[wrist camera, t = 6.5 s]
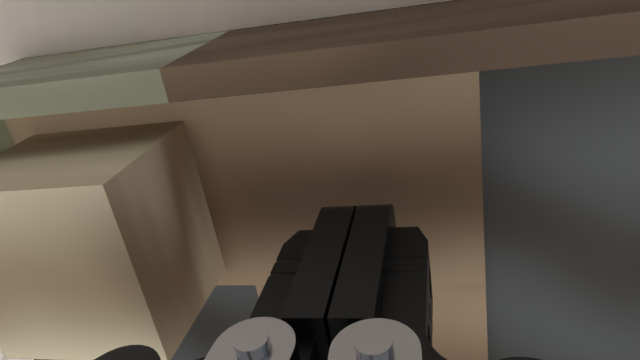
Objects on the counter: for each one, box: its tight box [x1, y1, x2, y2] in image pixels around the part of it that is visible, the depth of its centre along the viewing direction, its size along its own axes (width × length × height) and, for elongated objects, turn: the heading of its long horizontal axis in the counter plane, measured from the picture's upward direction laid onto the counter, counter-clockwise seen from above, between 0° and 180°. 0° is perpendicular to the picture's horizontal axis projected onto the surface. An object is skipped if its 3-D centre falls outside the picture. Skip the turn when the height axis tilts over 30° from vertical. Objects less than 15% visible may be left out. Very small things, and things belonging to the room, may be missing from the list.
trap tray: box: [0, 0, 640, 360], centre depth 16 cm, size 15×22×4 cm
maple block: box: [0, 121, 226, 360], centre depth 14 cm, size 5×5×4 cm
